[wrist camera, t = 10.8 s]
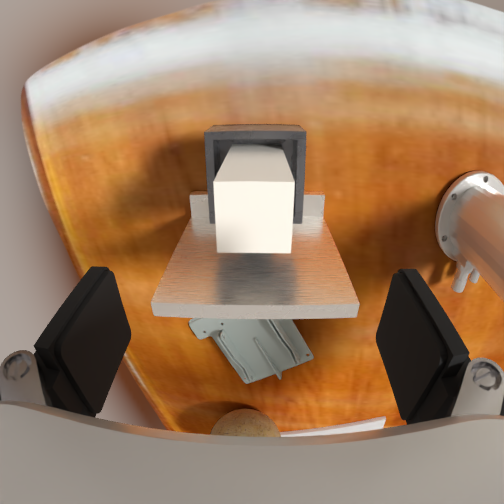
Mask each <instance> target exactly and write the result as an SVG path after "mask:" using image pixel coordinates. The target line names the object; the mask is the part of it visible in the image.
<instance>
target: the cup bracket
mask: <svg viewBox="0 0 504 504" xmlns="http://www.w3.org/2000/svg"><path fill="white" fill-rule="evenodd" d="M204 136H205V156H206V174H207V190H208V191H193V192H191V194H190V205H191V218H190V220H189V222H188V224H187V226H186V228H185V230H184V232H183V234H182V236H181V238H180V240H179V243H178V245H177V247H176V249H175V251H174V253H173V255H172V257H171V259H170V261H169V263H168V265H167V268H166V270H165V272H164V274H163V276H162V278H161V280H160V283H159V285H158V287H157V289H156V291H155V294H154V296H153V298H152V300H151V306H152V310H153V314H154V316H165V317H187V318H216V319H323V318H352V317H357V313H358V309H359V304H360V303H359V301H358V298H357V296H356V293H355V290H354V288H353V285H352V283H351V281H350V278H349V276H348V273H347V271H346V268H345V266H344V263H343V261H342V259H341V256H340V254H339V252H338V249H337V247H336V245H335V242H334V240H333V238H332V235H331V233H330V231H329V229H328V226H327V224H326V222H325V220H324V217H323V211H324V199H325V195H324V193H323V192H321V191H304V180H305V156H306V131H305V130H304V129H303V128H302V127H301V126H299V125H281V124H239V125H213V126H212V127H210V128H209V129H208V130H206V131H205V132H204ZM232 144H273V145H281V146H282V148H283V151H284V154H285V157H286V159H287V162H288V165H289V167H290V170H291V173H292V176H293V179H294V181H295V189H294V209H293V227H292V244H291V253H217V240H216V223H215V205H214V185H213V181H214V179H215V177H216V175H217V173H218V171H219V169H220V167H221V165H222V163H223V161H224V159H225V157H226V156H227V154H228V152H229V150H230V148H231V146H232Z"/></svg>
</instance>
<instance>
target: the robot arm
mask: <svg viewBox="0 0 504 504" xmlns="http://www.w3.org/2000/svg"><path fill="white" fill-rule="evenodd" d="M435 233H436V238H437V241H438V244H439V246H440V248H441V249H442V250H443V252H444V253H445V254H446V255H447V256H448V257H449V258H451V259H452V260H454V261H457V264H456V267H457V268H458V270H457V273H456V275H455V276H454V279H453V282H452V285H451V288H452V289H453V290H454V291H456V292H463V289H464V287H465V284H466V281H467V277H468V274H469V273H471V274H470V277H469V280H470V281H471V282H473V283H477V281H478V278H479V275H481V276H482V277H483V278H484V279H485V281H486V282H487V283H488V284H489V285H490V286H491V288H492V289H493V290H494V291H495V292H496V293H497V295H498V296H499V297H500V298H501V300H502V301H503V302H504V186H503V184H502V183H501V181H500V180H499V179H498V178H496V177H495V176H494V175H492V174H490V173H488V172H484V171H472V172H469V173H466V174H464V175H463V176H461V177H459V178H458V179H457V180H456V181H455V182H454V183H453V184H452V185H451V186H450V187H449V188H448V190H447V191H446V193H445V194H444V196H443V198H442V200H441V202H440V205H439V208H438V211H437V214H436V222H435ZM130 339H131V329H130V326H129V323H128V320H127V317H126V314H125V311H124V307H123V304H122V301H121V297H120V294H119V290H118V287H117V283H116V280H115V276H114V273H113V272H112V271H110V270H109V269H108V268H107V267H91V268H90V269H89V270H88V271H87V273H86V274H85V275H84V277H83V278H82V279H81V280H80V282H79V283H78V284H77V286H76V287H75V288H74V290H73V291H72V292H71V293H70V295H69V296H68V298H67V299H66V300H65V302H64V303H63V304H62V306H61V307H60V308H59V310H58V311H57V313H56V314H55V316H54V317H53V318H52V320H51V321H50V323H49V324H48V325H47V327H46V328H45V330H44V331H43V333H42V334H41V336H40V337H39V339H38V340H37V342H36V343H35V345H34V347H35V349H36V352H35V353H34V355H33V354H32V353H31V352H30V351H27V350H19V351H16V352H14V353H12V354H10V355H9V356H7V357H6V358H5V359H4V361H3V362H2V364H1V366H0V504H504V372H503V371H502V369H501V368H500V366H498V365H497V364H496V363H495V362H493V361H492V360H490V359H486V358H476V359H473V360H472V361H471V360H470V358H469V356H468V355H469V351H468V349H467V348H466V346H465V344H464V343H463V341H462V339H461V337H460V336H459V334H458V332H457V331H456V329H455V327H454V326H453V324H452V322H451V321H450V319H449V318H448V316H447V314H446V313H445V311H444V310H443V308H442V307H441V305H440V303H439V302H438V300H437V299H436V297H435V296H434V294H433V293H432V291H431V290H430V288H429V287H428V285H427V284H426V282H425V281H424V280H423V278H422V277H421V275H420V274H419V272H418V271H417V270H416V269H400V270H399V271H398V272H397V273H395V274H394V275H393V277H392V281H391V285H390V288H389V292H388V296H387V299H386V303H385V306H384V310H383V313H382V317H381V320H380V323H379V326H378V330H377V333H376V343H377V346H378V349H379V351H380V354H381V357H382V360H383V363H384V366H385V369H386V372H387V375H388V378H389V381H390V384H391V387H392V390H393V393H394V396H395V400H396V403H397V406H398V409H399V413H400V416H401V418H402V420H406V422H407V425H403V426H397V427H390V428H383V429H377V430H369V431H361V432H353V433H343V434H331V435H317V436H295V437H241V436H220V435H206V434H195V433H185V432H176V431H167V430H160V429H153V428H146V427H140V426H134V425H128V424H123V423H118V422H113V421H108V420H104V419H99V418H95V416H96V414H97V413H100V412H101V410H102V407H103V405H104V402H105V400H106V397H107V395H108V392H109V390H110V387H111V385H112V382H113V380H114V377H115V374H116V372H117V370H118V367H119V365H120V363H121V360H122V358H123V356H124V353H125V351H126V349H127V346H128V344H129V342H130Z"/></svg>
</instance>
